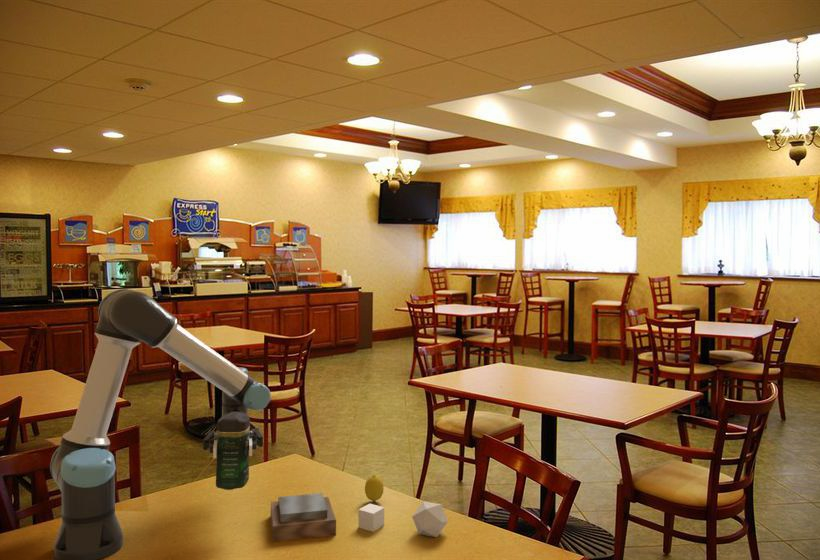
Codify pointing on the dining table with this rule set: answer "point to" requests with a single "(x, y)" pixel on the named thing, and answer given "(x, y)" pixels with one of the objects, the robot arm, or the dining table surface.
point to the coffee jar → (232, 451)
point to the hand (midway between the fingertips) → (232, 451)
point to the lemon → (374, 488)
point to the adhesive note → (371, 517)
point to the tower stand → (302, 517)
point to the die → (430, 519)
